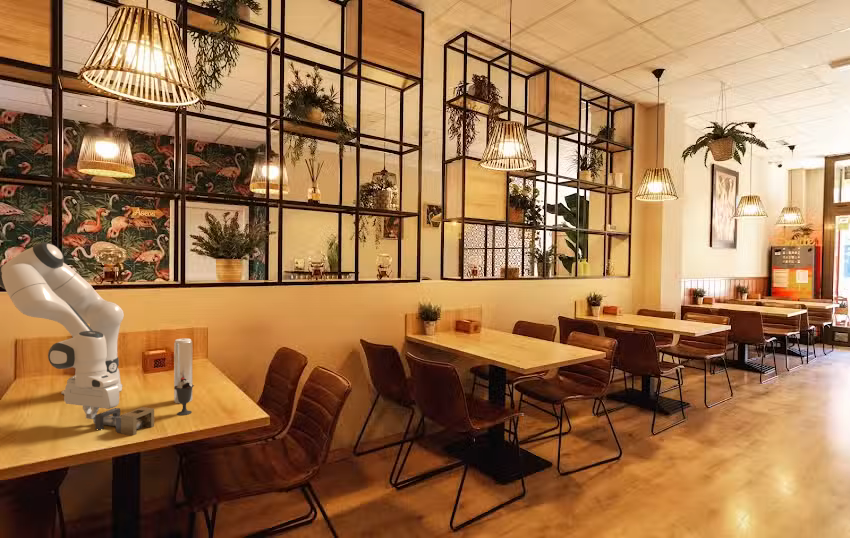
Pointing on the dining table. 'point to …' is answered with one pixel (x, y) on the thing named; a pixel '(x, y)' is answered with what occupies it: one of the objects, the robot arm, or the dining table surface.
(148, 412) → the aperture bridge
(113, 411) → the collar
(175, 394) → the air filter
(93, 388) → the robot arm
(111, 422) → the tube
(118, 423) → the collar
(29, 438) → the dining table surface
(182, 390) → the sundae
